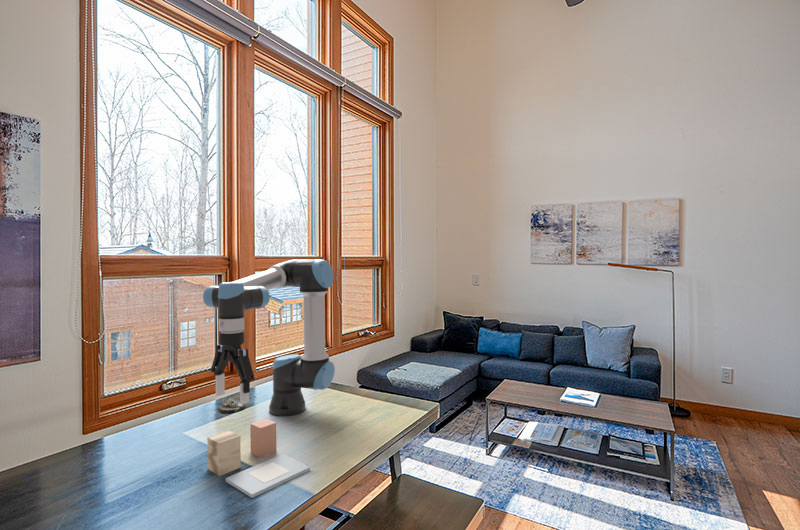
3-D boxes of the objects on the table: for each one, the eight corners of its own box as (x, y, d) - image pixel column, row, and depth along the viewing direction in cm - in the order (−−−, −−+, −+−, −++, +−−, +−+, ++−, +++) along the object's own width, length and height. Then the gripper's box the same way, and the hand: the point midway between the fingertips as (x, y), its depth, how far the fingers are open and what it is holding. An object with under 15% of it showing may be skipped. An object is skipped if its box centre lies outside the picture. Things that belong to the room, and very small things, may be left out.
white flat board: (225, 481, 129) (225, 477, 129) (282, 457, 144) (282, 453, 144) (252, 498, 120) (252, 494, 120) (310, 470, 135) (310, 466, 135)
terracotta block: (250, 453, 147) (250, 423, 147) (266, 447, 152) (265, 418, 152) (260, 458, 144) (260, 428, 143) (276, 451, 148) (276, 422, 148)
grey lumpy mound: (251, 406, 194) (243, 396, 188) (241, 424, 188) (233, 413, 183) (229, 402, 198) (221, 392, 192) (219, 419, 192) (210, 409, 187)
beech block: (207, 469, 137) (207, 437, 136) (229, 460, 142) (228, 430, 142) (219, 476, 132) (218, 443, 132) (240, 467, 137) (240, 435, 137)
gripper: (199, 329, 142) (199, 394, 142) (244, 337, 127) (244, 410, 127) (220, 326, 148) (221, 389, 148) (266, 333, 133) (266, 403, 133)
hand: (232, 399), depth 138 cm, fingers open, 13 cm apart
